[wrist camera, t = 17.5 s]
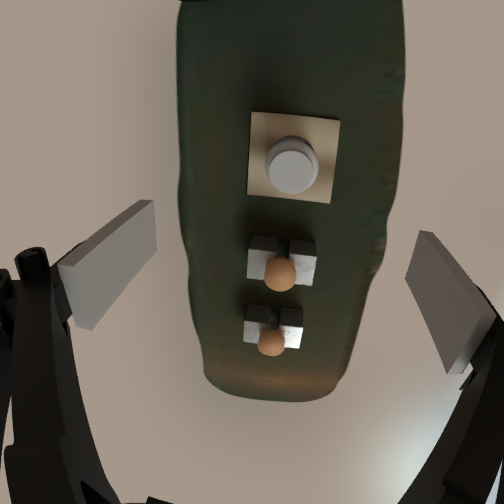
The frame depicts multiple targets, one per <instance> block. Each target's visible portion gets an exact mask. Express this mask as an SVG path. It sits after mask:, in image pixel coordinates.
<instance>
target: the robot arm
mask: <svg viewBox="0 0 504 504" xmlns="http://www.w3.org/2000/svg"><path fill="white" fill-rule="evenodd" d="M180 1H188V2H197V1H206V0H180ZM156 241H157V240H156V229H155V216H154V201H153V200H139V201H138V202H136V203H135V204H133V205H132V206H130V207H129V208H128V209H126V210H125V211H124V212H122V213H121V214H119V215H118V216H117V217H116V218H114V219H113V220H111V221H110V222H109V223H107V224H106V225H105V226H103V227H102V228H101V229H99V230H98V231H97V232H96V233H94V234H93V235H92V236H90V237H89V238H88V239H87V240H85V241H83V242H81V243H79V244H78V245H76V246H75V247H74V248H73V249H72V250H71V251H69V252H68V253H66V255H64V256H63V257H62V258H60V259H59V260H58V261H57V262H56V263H54V264H53V265H52V266H51V267H50V266H49V262H48V259H47V255H46V251H45V249H44V248H42V247H33V248H29V249H26V250H24V251H22V252H20V253H19V254H18V255H17V256H16V257H15V259H14V260H15V264H16V267H17V270H18V273H19V276H20V280H11V277H10V274H9V271H8V270H7V269H0V467H1V456H2V446H3V438H4V431H5V424H6V418H7V413H8V408H9V402H10V398H11V401H12V420H13V433H14V443H13V445H9V446H6V448H5V450H4V463H5V470H6V476H7V482H8V488H9V493H10V498H11V503H12V504H121V503H120V501H119V499H118V497H117V495H116V493H115V492H114V490H113V488H112V487H111V485H110V484H109V482H108V480H107V478H106V476H105V473H104V470H103V468H102V465H101V462H100V459H99V456H98V453H97V450H96V447H95V444H94V440H93V437H92V434H91V430H90V427H89V423H88V420H87V416H86V412H85V408H84V404H83V400H82V396H81V391H80V387H79V381H78V376H77V371H76V366H75V361H74V354H73V348H72V341H71V334H70V327H69V324H68V322H67V319H68V318H69V317H70V316H71V315H73V318H74V321H75V324H76V326H78V327H81V328H84V329H87V330H91V331H92V330H93V328H94V327H95V326H96V324H97V323H98V322H99V321H100V319H101V318H102V317H103V315H104V314H105V313H106V312H107V310H108V309H109V308H110V306H111V305H112V304H113V303H114V301H115V300H116V299H117V298H118V296H119V295H120V294H121V293H122V291H123V290H124V289H125V288H126V287H127V285H128V284H129V283H130V282H131V280H132V279H133V278H134V277H135V276H136V274H137V273H138V272H139V271H140V270H141V268H142V267H143V266H144V265H145V264H146V262H147V261H148V260H149V259H150V258H151V257H152V256H153V254H154V253H155V252H156V251H157V242H156ZM405 280H406V282H407V284H408V286H409V287H410V290H411V292H412V294H413V296H414V298H415V300H416V302H417V304H418V306H419V308H420V311H421V313H422V315H423V317H424V320H425V322H426V324H427V326H428V329H429V331H430V333H431V336H432V338H433V340H434V343H435V345H436V348H437V350H438V352H439V355H440V357H441V360H442V362H443V365H444V368H445V370H446V373H447V374H461V373H463V371H464V370H465V369H466V367H467V366H468V364H469V362H470V363H471V365H472V367H473V370H472V372H471V373H470V375H469V376H468V378H467V379H466V380H465V382H464V383H463V385H462V386H461V388H460V390H462V389H463V391H462V393H461V395H460V397H459V400H458V402H457V404H456V407H455V409H454V411H453V413H452V415H451V417H450V419H449V421H448V423H447V425H446V427H445V429H444V431H443V433H442V434H441V436H440V438H439V440H438V442H437V443H436V445H435V447H434V449H433V451H432V452H431V454H430V456H429V457H428V459H427V461H426V463H425V464H424V466H423V467H422V469H421V470H420V472H419V473H418V475H417V477H416V478H415V479H414V481H413V483H412V484H411V486H410V487H409V489H408V490H407V491H406V493H405V494H404V495H403V497H402V498H401V500H400V501H399V502H398V504H485V503H486V500H487V498H488V496H489V493H490V491H491V489H492V486H493V484H494V481H495V479H496V476H497V473H498V471H499V468H500V465H501V462H502V468H501V475H500V482H499V487H498V493H497V498H496V503H495V504H504V321H503V320H502V319H501V317H500V315H499V314H498V313H497V311H496V310H495V308H494V306H493V305H492V304H491V302H490V301H489V300H488V298H487V297H486V295H485V294H484V293H483V291H482V290H481V289H480V288H479V287H478V286H476V285H475V284H474V283H473V282H472V280H471V279H470V278H469V276H468V275H467V274H466V272H465V271H464V270H463V269H462V267H461V266H460V265H459V264H458V262H457V261H456V260H455V259H454V257H453V256H452V255H451V254H450V253H449V251H448V250H447V249H446V248H445V246H444V245H443V244H442V243H441V242H440V241H439V239H438V238H437V237H436V236H435V235H434V234H433V232H427V231H421V230H420V231H419V234H418V238H417V241H416V245H415V248H414V252H413V255H412V258H411V261H410V265H409V268H408V271H407V274H406V277H405ZM502 459H503V460H502ZM126 504H173V503H169V502H165V501H162V500H158V499H155V498H152V497H149V496H148V498H147V501H146V503H126Z"/></svg>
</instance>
